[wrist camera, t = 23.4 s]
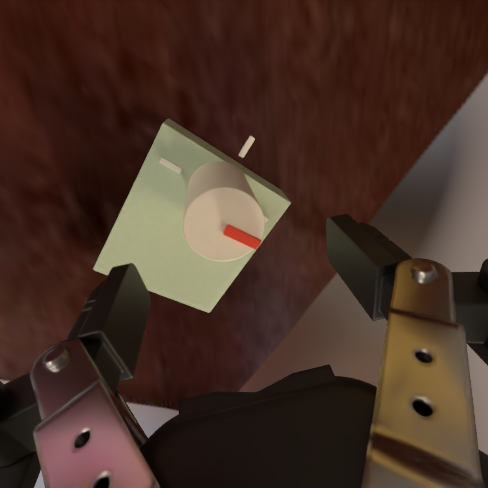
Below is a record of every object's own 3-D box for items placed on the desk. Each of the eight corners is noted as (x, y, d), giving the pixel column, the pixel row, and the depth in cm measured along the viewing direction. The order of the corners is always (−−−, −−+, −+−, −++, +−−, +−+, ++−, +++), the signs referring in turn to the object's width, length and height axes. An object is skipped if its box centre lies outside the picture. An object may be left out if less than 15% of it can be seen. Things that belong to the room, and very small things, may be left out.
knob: (177, 203, 18) (167, 245, 13) (205, 148, 17) (207, 172, 12) (229, 229, 20) (239, 275, 15) (260, 180, 18) (282, 214, 13)
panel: (183, 87, 18) (179, 86, 15) (297, 166, 21) (311, 178, 19) (104, 249, 23) (91, 271, 20) (208, 291, 26) (209, 314, 24)
